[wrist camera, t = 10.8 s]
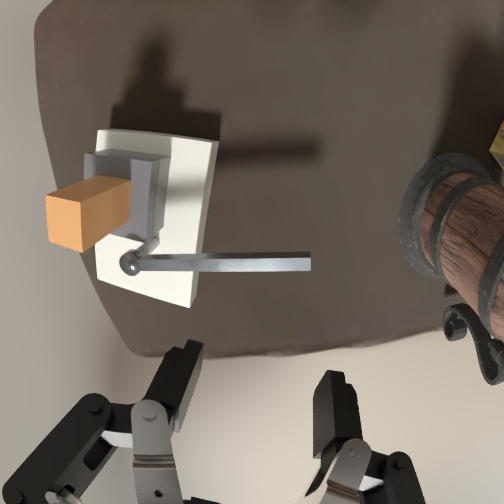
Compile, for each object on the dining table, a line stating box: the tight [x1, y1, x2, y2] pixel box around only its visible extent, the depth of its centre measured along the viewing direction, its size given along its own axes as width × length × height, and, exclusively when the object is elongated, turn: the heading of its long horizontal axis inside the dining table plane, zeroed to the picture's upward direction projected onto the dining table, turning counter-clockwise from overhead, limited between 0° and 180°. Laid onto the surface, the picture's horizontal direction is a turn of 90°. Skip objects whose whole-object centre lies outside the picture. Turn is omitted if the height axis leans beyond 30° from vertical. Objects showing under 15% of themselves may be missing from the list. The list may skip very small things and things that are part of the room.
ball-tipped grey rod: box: [119, 249, 311, 276], centre depth 25 cm, size 18×2×1 cm, turn 95°
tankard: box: [398, 153, 504, 385], centre depth 20 cm, size 24×17×20 cm
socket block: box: [95, 129, 219, 308], centre depth 29 cm, size 20×14×8 cm
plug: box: [46, 152, 159, 253], centre depth 23 cm, size 8×8×12 cm
